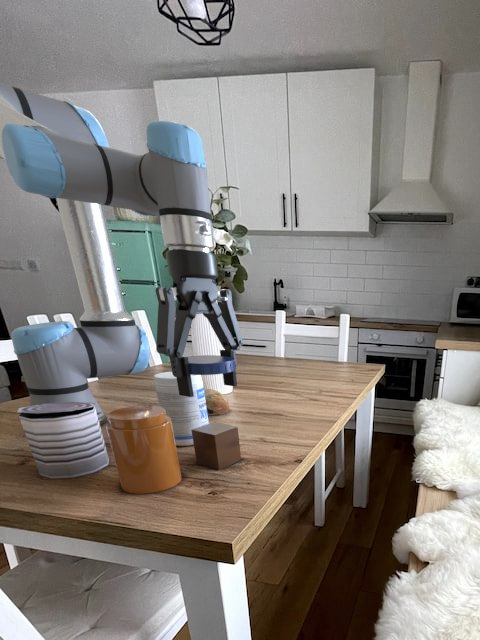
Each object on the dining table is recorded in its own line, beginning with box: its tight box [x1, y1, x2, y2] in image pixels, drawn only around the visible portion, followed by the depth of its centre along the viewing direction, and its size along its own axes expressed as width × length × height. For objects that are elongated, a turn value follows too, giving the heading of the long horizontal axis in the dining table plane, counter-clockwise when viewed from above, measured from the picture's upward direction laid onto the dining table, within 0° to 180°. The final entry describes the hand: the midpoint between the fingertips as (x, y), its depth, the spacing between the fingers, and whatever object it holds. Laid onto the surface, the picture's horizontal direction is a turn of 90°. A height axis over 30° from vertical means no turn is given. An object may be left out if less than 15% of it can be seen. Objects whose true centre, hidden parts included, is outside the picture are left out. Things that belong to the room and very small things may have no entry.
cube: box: [191, 421, 242, 471], centre depth 77 cm, size 6×6×7 cm
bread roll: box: [204, 388, 230, 417], centre depth 110 cm, size 10×10×8 cm
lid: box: [187, 354, 237, 376], centre depth 70 cm, size 10×10×2 cm
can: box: [15, 402, 110, 480], centre depth 72 cm, size 11×11×12 cm
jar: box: [105, 405, 183, 495], centre depth 67 cm, size 10×10×13 cm
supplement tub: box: [153, 371, 210, 447], centre depth 86 cm, size 10×10×15 cm
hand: (209, 390), depth 72 cm, fingers closed on lid, 10 cm apart
